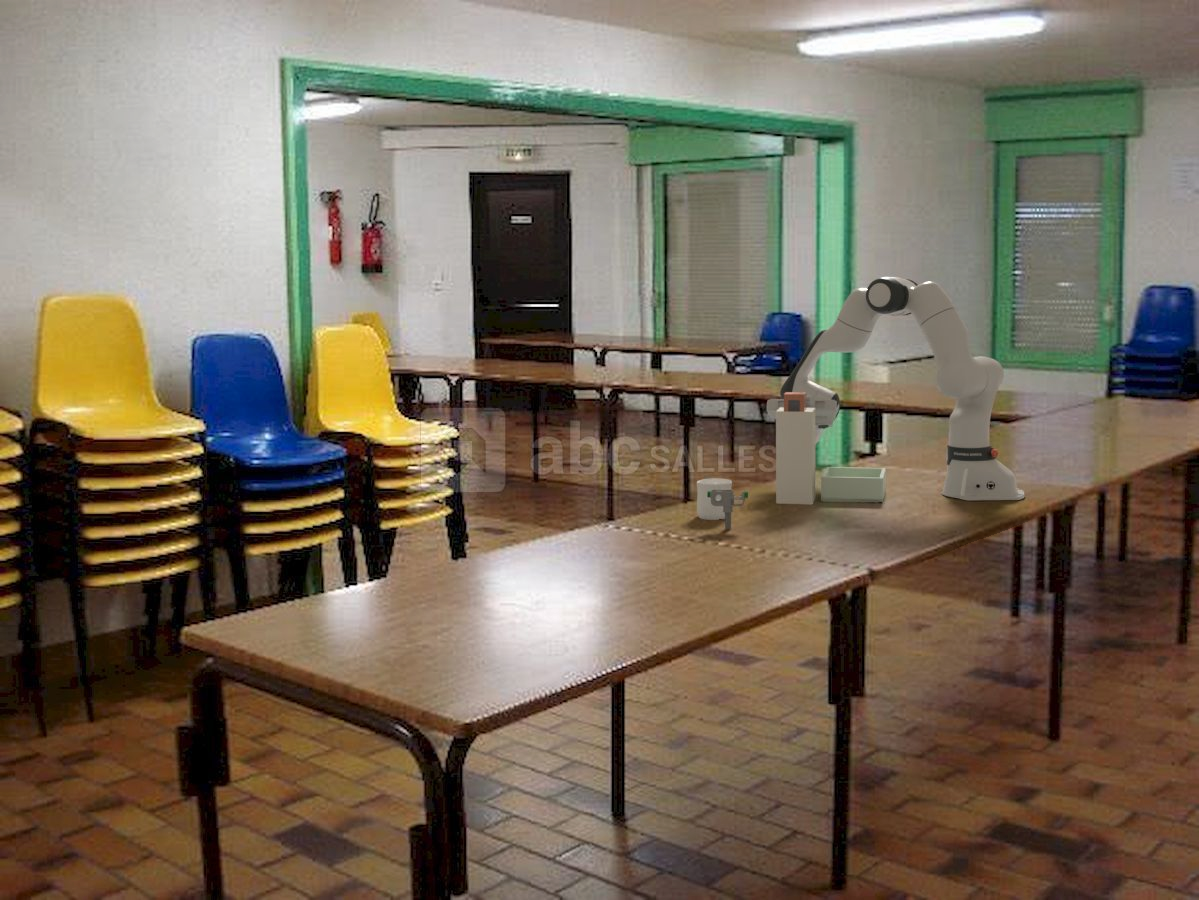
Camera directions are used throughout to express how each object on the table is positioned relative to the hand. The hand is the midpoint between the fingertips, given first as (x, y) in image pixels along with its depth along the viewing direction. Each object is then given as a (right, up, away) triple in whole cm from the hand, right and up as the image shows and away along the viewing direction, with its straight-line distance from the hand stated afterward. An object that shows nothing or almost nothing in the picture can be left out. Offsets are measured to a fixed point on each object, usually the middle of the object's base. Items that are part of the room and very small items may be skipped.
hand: (799, 398), depth 378 cm
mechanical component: (-24, -35, -39) cm, 58 cm away
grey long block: (-1, -3, -5) cm, 6 cm away
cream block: (-2, -29, -5) cm, 30 cm away
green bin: (+15, -28, -1) cm, 32 cm away
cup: (-26, -33, -24) cm, 48 cm away
